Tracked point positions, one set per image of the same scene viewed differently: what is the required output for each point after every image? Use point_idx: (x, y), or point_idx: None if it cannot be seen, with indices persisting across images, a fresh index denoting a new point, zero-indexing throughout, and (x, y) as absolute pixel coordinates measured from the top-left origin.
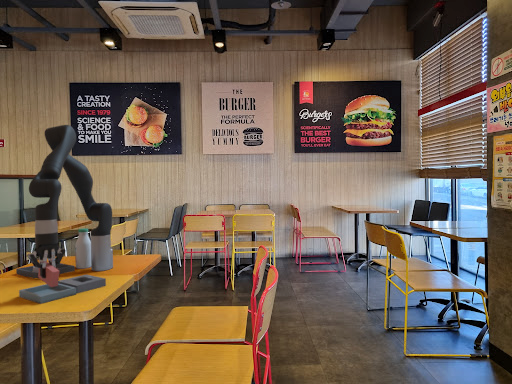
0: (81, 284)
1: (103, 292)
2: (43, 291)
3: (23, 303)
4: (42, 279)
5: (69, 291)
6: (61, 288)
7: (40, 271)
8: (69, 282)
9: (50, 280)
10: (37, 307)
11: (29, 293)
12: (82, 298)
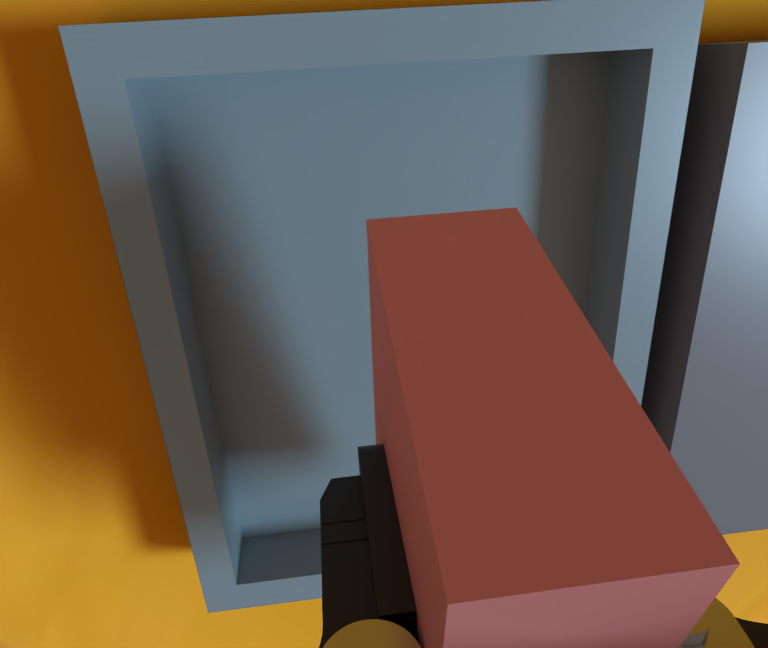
0: None
1: None
2: (424, 144)
3: (84, 411)
4: (376, 391)
5: None
6: (597, 298)
7: (323, 590)
8: (735, 330)
9: None
10: (163, 619)
11: (150, 385)
12: None
